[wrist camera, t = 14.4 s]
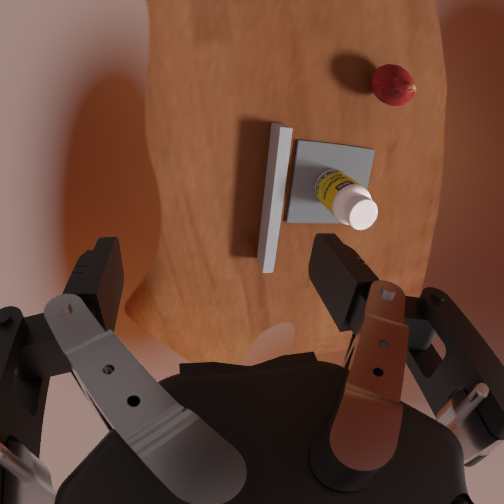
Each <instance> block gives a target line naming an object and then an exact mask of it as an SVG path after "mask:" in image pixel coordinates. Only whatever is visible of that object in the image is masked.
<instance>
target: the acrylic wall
mask: <svg viewBox="0 0 504 504" xmlns="http://www.w3.org/2000/svg"><path fill="white" fill-rule="evenodd" d="M292 130H293V128H291V127H289V126H287V125H285V124H282V123H271V132H270V142H269V151H268V161H267V170H266V179H265V189H264V198H263V207H262V216H261V225H260V234H259V244H258V253H257V259H258V262H259V264H260V267H261V269H262V272H263V273H270V272H273V270H274V263H275V257H276V250H277V243H278V236H279V229H280V222H281V215H282V207H283V200H284V193H285V185H286V177H287V170H288V162H289V154H290V146H291V138H292Z"/></svg>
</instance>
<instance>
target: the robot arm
mask: <svg viewBox="0 0 504 504" xmlns="http://www.w3.org/2000/svg"><path fill="white" fill-rule="evenodd" d="M309 277H310V280H311V281H312V283H313V285H314V287H315V288H316V290H317V292H318V294H319V295H320V297H321V299H322V301H323V302H324V304H325V306H326V308H327V309H328V311H329V313H330V315H331V316H332V318H333V320H334V322H335V324H336V325H337V327H338V329H339V331H340V332H343V331H349V330H352V332H353V334H352V336H351V339H350V341H349V345H348V348H347V351H346V354H345V357H344V360H343V363H342V366H339V365H336V364H333V363H329V362H323V361H317V359H316V356H315V354H314V352H307V353H299V354H292V355H284V356H280V357H277V358H274V359H272V360H269V361H266V362H263V363H260V364H257V365H253V366H243V365H234V364H226V363H218V362H204V363H185V364H184V363H182V364H179V366H180V374H177V375H173V376H170V377H168V378H165V379H163V380H161V381H159V382H156V380H155V379H154V378H153V377H152V376H151V375H150V374H149V373H148V371H147V370H146V369H145V368H144V367H143V366H142V365H141V364H140V363H139V362H138V360H137V359H136V358H135V357H134V356H133V355H132V354H131V352H130V351H129V350H128V349H127V348H126V347H125V345H124V344H123V343H122V342H121V341H120V340H119V338H118V337H117V336H116V335H115V333H114V330H115V324H116V319H117V314H118V309H119V304H120V299H121V294H122V289H123V285H124V273H123V266H122V259H121V253H120V246H119V240H118V238H117V237H100V238H99V239H98V241H97V243H96V245H95V248H94V249H93V250H87V251H86V252H85V253H84V254H82V255H81V256H80V257H79V259H78V261H77V263H76V265H75V267H74V269H73V271H72V274H71V276H70V278H69V280H68V282H67V284H66V287H65V289H64V291H63V294H62V295H59V296H57V297H55V298H53V299H51V300H50V301H49V302H48V303H47V304H46V306H45V308H44V313H41V314H37V315H33V316H29V317H23V314H22V312H21V310H20V309H19V308H17V307H13V306H9V307H5V308H2V309H0V504H474V503H473V502H472V501H471V499H470V497H469V495H468V492H467V487H466V482H465V474H464V466H467V467H470V466H473V465H475V464H477V463H478V462H479V461H481V460H482V459H483V458H485V457H486V456H487V455H488V454H490V453H491V452H492V451H494V450H495V449H496V448H497V447H499V446H500V445H501V444H502V443H503V442H504V366H503V365H502V363H501V362H500V361H499V359H498V358H497V356H496V355H495V354H494V352H493V351H492V349H491V348H490V347H489V346H488V344H487V343H486V342H485V340H484V339H483V338H482V336H481V335H480V334H479V332H478V331H477V330H476V329H475V327H474V326H473V325H472V324H471V322H470V321H469V320H468V319H467V317H466V316H465V315H464V314H463V312H462V311H461V310H460V309H459V308H458V306H457V305H456V304H455V303H454V302H453V300H452V299H451V298H450V297H449V296H448V295H447V294H446V293H445V292H443V291H441V290H439V289H437V288H433V287H427V288H425V289H423V291H422V293H421V295H420V298H417V297H410V296H405V293H404V291H403V290H402V289H401V288H400V287H399V286H398V285H396V284H394V283H392V282H389V281H385V280H379V279H378V277H377V276H376V275H375V274H374V273H373V271H372V270H371V269H370V268H369V267H368V265H366V264H365V262H364V261H363V260H362V259H361V257H360V256H359V255H358V254H357V253H356V251H355V250H353V249H352V248H350V247H349V246H347V245H345V244H343V243H342V241H341V240H340V239H339V238H338V237H337V236H336V234H334V233H318V234H316V236H315V238H314V243H313V248H312V253H311V257H310V262H309ZM436 334H438V336H439V337H440V338H441V340H442V341H443V343H444V344H445V347H446V355H445V357H444V359H443V360H442V359H441V357H440V356H439V354H438V353H437V351H436V350H435V348H434V347H433V345H432V344H431V343H432V341H433V339H434V338H435V336H436ZM406 364H407V365H408V367H409V369H410V371H411V373H412V374H413V376H414V378H415V380H416V381H417V383H418V385H419V387H420V389H421V391H422V392H423V394H424V396H425V398H426V400H427V402H428V404H429V406H430V407H431V409H432V411H433V413H434V415H435V417H436V420H434V419H433V418H430V417H429V416H427V415H425V414H423V413H422V412H420V411H418V410H416V409H415V408H413V407H411V406H409V405H407V404H406V403H404V402H402V401H401V394H402V387H403V381H404V373H405V365H406ZM67 372H71V374H72V376H73V378H74V379H75V381H76V382H77V384H78V385H79V387H80V389H81V391H82V392H83V394H84V395H85V397H86V398H87V400H88V401H89V403H90V404H91V406H92V407H93V409H94V410H95V412H96V413H97V415H98V416H99V418H100V419H101V421H102V423H103V424H104V425H105V426H106V428H107V430H108V431H109V433H108V434H107V435H106V436H105V437H104V438H103V439H102V440H101V441H100V443H99V444H98V445H97V446H96V447H95V448H94V449H93V450H92V451H91V452H90V453H89V454H88V456H87V457H86V458H85V459H84V460H83V461H82V462H81V463H80V464H79V466H77V468H76V469H75V470H74V471H73V472H72V473H71V474H70V475H69V476H68V477H67V478H66V479H65V480H64V482H63V483H62V484H61V486H60V487H59V489H58V491H57V494H56V492H55V491H54V489H53V486H52V481H51V475H50V472H49V470H48V468H47V466H46V465H45V464H44V463H43V462H42V461H41V460H40V459H39V453H40V442H41V433H42V424H43V417H44V410H45V403H46V397H47V391H48V386H49V380H50V376H55V375H59V374H63V373H67Z"/></svg>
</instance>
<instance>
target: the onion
mask: <svg viewBox="0 0 504 504" xmlns="http://www.w3.org/2000/svg"><path fill="white" fill-rule="evenodd" d="M371 87H372V90H373V93H374V94H375V96H376V97H377V98H378V99H379V100H380V101H382V102H383V103H386V104H388V105H391V106H401V105H404V104H405V103H407V102H409V101H410V100H411V99H412V97H413V96H414V93H415V91H416V87H415V84H414V81H413V78H412V77H411V75H410V74H409V73H408V71H406V70H405V69H403V68H402V67H400V66H398V65H392V64H387V65H384V66H381V67H379V68H378V69H377V70H376V71H375V72H374V73H373V76H372V78H371Z"/></svg>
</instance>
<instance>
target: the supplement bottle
mask: <svg viewBox="0 0 504 504" xmlns="http://www.w3.org/2000/svg"><path fill="white" fill-rule="evenodd" d="M315 194H316V197H317V198H318V200H319V201H320V202H321V203H322V204H323V205H324V206H325V207H326V208H327V209H328V211H329V212H330V213H331V214H332V215H333V216H334V217H335V218H336V219H337V220H338V221H340V222H341V223H343V224H345V225H351V226H352V227H353V228H354V229H357V230H364V229H367V228H368V227H370V226H371V225H372V224H373V223H374V222H375V220H376V218H377V214H378V208H377V205H376V204H375V202H374V201H372V200H371V196H370V194H369V192H368V191H367V190H366V189H365V188H364V187H363V186H362V185H360V184H359V183H357V182H356V181H355V180H353V179H352V178H351V177H349V176H348V175H346V174H345V173H343V172H342V171H339V170H335V169H332V170H328V171H325V172H324V173H322V174H321V175H320V176H319V178H318V179H317V181H316V184H315Z"/></svg>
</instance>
